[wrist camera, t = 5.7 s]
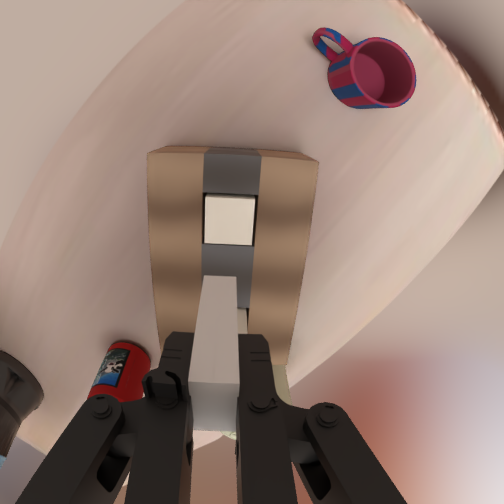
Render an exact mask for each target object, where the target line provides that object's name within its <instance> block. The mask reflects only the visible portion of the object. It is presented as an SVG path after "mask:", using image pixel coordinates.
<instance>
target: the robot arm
mask: <svg viewBox="0 0 504 504" xmlns="http://www.w3.org/2000/svg"><path fill="white" fill-rule="evenodd" d="M141 382H142V386H143V390H144V394H145V397H143V398H141V399H138V400H134V401H127V402H119V401H118V399H117V398H115V397H113V396H112V395H108V394H96V395H94V396H92V397H90V398H88V399H87V400H86V401H85V402H84V404H83V405H82V406H81V408H80V409H79V411H78V412H77V413H76V415H75V416H74V417H73V419H72V420H71V422H70V423H69V424H68V426H67V427H66V429H65V430H64V432H63V433H62V434H61V436H60V437H59V439H58V440H57V442H56V443H55V444H54V446H53V447H52V449H51V450H50V452H49V453H48V455H47V456H46V458H45V459H44V460H43V462H42V463H41V465H40V466H39V468H38V469H37V471H36V472H35V474H34V475H33V477H32V478H31V480H30V481H29V483H28V485H27V486H26V488H25V489H24V491H23V492H22V494H21V495H20V497H19V498H18V500H17V502H16V503H15V504H113V503H114V501H115V499H116V497H117V495H118V493H119V491H120V489H121V487H122V485H123V483H124V481H125V479H126V477H127V475H128V474H129V472H130V474H129V479H128V485H127V491H126V497H125V503H124V504H190V492H191V472H192V456H193V437H192V435H193V428H194V430H205V431H233V432H236V447H235V454H236V469H237V470H236V471H237V500H238V504H298V502H297V496H296V489H295V483H294V477H293V470H292V464H291V462H293V464H294V466H295V468H296V470H297V472H298V474H299V476H300V478H301V480H302V482H303V484H304V486H305V488H306V490H307V492H308V494H309V496H310V498H311V500H312V502H313V504H407V503H406V501H405V500H404V498H403V497H402V495H401V494H400V492H399V491H398V490H397V488H396V486H395V485H394V483H393V482H392V481H391V479H390V477H389V476H388V475H387V473H386V472H385V470H384V469H383V467H382V466H381V464H380V463H379V461H378V460H377V458H376V457H375V455H374V454H373V452H372V451H371V449H370V448H369V446H368V445H367V443H366V442H365V440H364V439H363V437H362V436H361V434H360V433H359V431H358V430H357V428H356V427H355V425H354V424H353V422H352V421H351V419H350V418H349V417H348V415H347V413H346V412H345V411H344V410H343V409H342V408H341V407H339V406H337V405H335V404H333V403H327V402H324V403H318V404H316V405H314V406H312V407H311V408H310V409H304V408H299V407H295V406H292V405H289V404H287V403H285V402H284V401H283V400H282V399H281V398H280V397H279V396H278V394H277V392H276V388H275V381H274V375H273V369H272V362H271V356H270V349H269V343H268V341H267V340H266V339H265V337H264V336H263V335H262V334H238V322H237V287H236V277H230V276H206V275H204V279H203V285H202V291H201V297H200V303H199V309H198V316H197V322H196V329H195V333H193V332H177V331H173V332H172V333H171V334H170V335H169V336H168V337H167V338H166V339H165V343H164V347H163V351H162V355H161V359H160V363H159V367H158V368H157V369H154V370H151V371H149V372H148V373H147V374H145V375H144V377H143V379H142V381H141ZM42 400H43V391H42V389H41V387H40V385H39V383H38V382H37V380H36V379H35V378H34V376H33V375H32V374H31V373H30V372H29V371H28V370H27V369H26V368H25V367H24V366H23V365H22V364H21V363H20V362H18V361H17V360H16V359H14V358H13V357H11V356H10V355H8V354H6V353H4V352H2V351H0V469H1V467H2V465H3V463H4V461H5V460H6V457H7V454H8V452H9V449H10V447H11V445H12V442H13V440H14V438H15V436H16V434H17V431H18V429H19V427H20V425H21V423H22V421H23V420H24V419H25V418H26V417H27V416H28V415H29V414H30V413H31V412H32V411H33V410H36V409H37V408H38V407H39V406H40V404H41V402H42Z"/></svg>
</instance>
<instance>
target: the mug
mask: <svg viewBox="0 0 504 504" xmlns="http://www.w3.org/2000/svg"><path fill="white" fill-rule="evenodd" d="M320 36H324V37H327V38H329V39H331V40H332V41H334V42H335V43H337V44H338V45H339V46H340V47H341V48H342V49H343V50H344V51H343V52H341V53H340V54H337V53H336V52H335V51H333V50H332V49H331V48H329V47H328V46H327V45H326V44H325V43H324V42H323V40H322V39H321V38H320ZM312 40H313V43H314V44H315V46H316V47H317V48H318V49H319V50H320V51H321V52H322V53H323V54H324V55H325V56H326V57H327V58H328V59H329V60H331V61H332V62H331V63H330V66H329V69H328V82H329V85H330V88H331V90H332V92H333V93H334V95H335V96H336V97H337V98H338V99H339V100H340V101H341V102H342V103H344V104H345V105H347V106H349V107H352V108H356V109H369V108H394V107H398V106H401V105H403V104H405V103H406V102H407V101H408V100H409V99H410V98H411V96H412V95H413V93H414V90H415V87H416V73H415V68H414V66H413V63H412V61H411V59H410V57H409V56H408V55H407V53H406V52H405V51H404V50H403V49H402V48H401V47H400V46H399V45H397V44H396V43H394V42H392V41H391V40H388V39H385V38H380V37H372V38H368V39H365V40H363V41H361V42H359V43H357V44H355V45H352V44H351V43H350V42H349V41H348V40H347V39H346V38H345V37H344V36H343V35H341V34H340V33H338V32H337V31H335V30H333V29H330V28H319V29H318V30H317V31H316V32H315V33H314V35H313V37H312Z"/></svg>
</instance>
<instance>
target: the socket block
mask: <svg viewBox="0 0 504 504" xmlns="http://www.w3.org/2000/svg"><path fill="white" fill-rule="evenodd" d="M318 165H319V162H318V161H316V160H314V159H312V158H310V157H308V156H306V155H304V154H302V153H295V152H285V151H273V150H261V149H246V148H227V147H197V146H165V147H163V148H160V149H157V150H154V151H152V152H149V153H147V194H148V224H149V243H150V258H151V271H152V282H153V292H154V302H155V311H156V319H157V327H158V335H159V342H160V349H161V355H162V351H163V347H164V343H165V339H166V338H167V337H168V336H169V335H170V334H171V333H172V332H173V331H177V332H193V333H195V329H196V322H197V316H198V309H199V303H200V297H201V291H202V285H203V279H204V275H206V276H230V277H236V287H237V307H240V308H246V315H247V333H248V334H262V335H263V336H264V337H265V339H266V340H267V341H268V343H269V349H270V356H271V362H272V365H287V360H288V355H289V350H290V345H291V340H292V335H293V329H294V324H295V319H296V313H297V308H298V302H299V296H300V290H301V285H302V279H303V273H304V266H305V260H306V254H307V247H308V241H309V234H310V227H311V220H312V213H313V205H314V198H315V190H316V182H317V174H318ZM207 192H210V193H232V194H251V195H254V197H255V208H254V220H253V233H252V245H235V244H214V243H205V198H206V195H207Z"/></svg>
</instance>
